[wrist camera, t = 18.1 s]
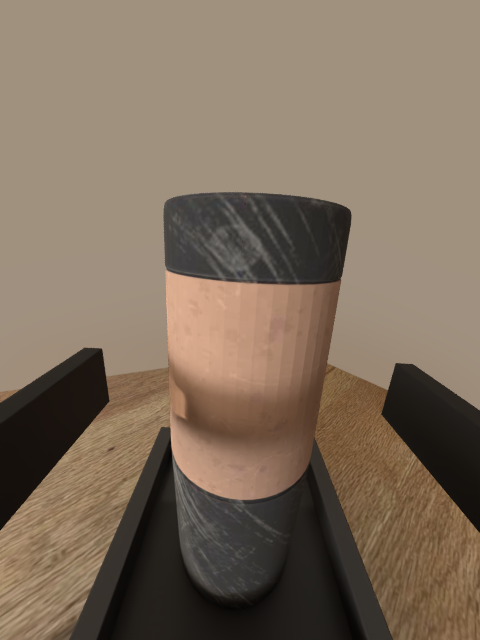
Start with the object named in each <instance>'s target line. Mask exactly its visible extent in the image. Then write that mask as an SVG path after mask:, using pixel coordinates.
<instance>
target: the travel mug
mask: <svg viewBox="0 0 480 640" xmlns="http://www.w3.org/2000/svg"><path fill="white" fill-rule="evenodd" d="M350 226H351V211H350V210H349V209H348V208H347V207H344V206H342V205H340V204H337V203H333V202H329V201H325V200H319V199H314V198H307V197H300V196H291V195H281V194H267V193H242V192H220V193H199V194H190V195H182V196H177V197H173V198H171V199H169V200H167V201H166V202H165V205H164V242H165V266H166V270H165V271H166V302H167V329H168V330H167V332H168V361H169V392H170V422H171V446H172V459H173V470H174V482H175V493H176V504H177V516H178V527H179V539H180V548H181V555H182V560H183V565H184V568H185V571H186V574H187V576H188V578H189V580H190V582H191V583H192V585H193V586H194V588H195V589H196V590H197V591H198V593H199V594H200V595H201V596H202V597H203V598H205V599H206V600H207V601H208V602H210V603H212V604H214V605H216V606H218V607H221V608H224V609H231V610H238V609H245V608H248V607H251V606H253V605H255V604H258V603H259V602H260V601H262V600H263V599H265V598H266V597H267V596H268V595H269V594H270V593H271V592H272V590H273V589H274V588H275V586H276V585H277V583H278V582H279V580H280V578H281V576H282V573H283V571H284V568H285V565H286V561H287V557H288V553H289V549H290V545H291V541H292V536H293V532H294V528H295V523H296V519H297V515H298V510H299V506H300V502H301V497H302V493H303V489H304V484H305V480H306V475H307V471H308V467H309V462H310V457H311V453H312V447H313V441H314V436H315V430H316V424H317V418H318V412H319V407H320V401H321V395H322V389H323V383H324V377H325V372H326V366H327V360H328V354H329V348H330V342H331V336H332V331H333V325H334V319H335V313H336V308H337V301H338V295H339V290H340V284H341V279H340V278H341V277H342V273H343V267H344V261H345V255H346V250H347V244H348V238H349V232H350Z"/></svg>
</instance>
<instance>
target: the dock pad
mask: <svg viewBox="0 0 480 640" xmlns="http://www.w3.org/2000/svg"><path fill="white" fill-rule="evenodd" d="M70 640H393V639H392V636H391V634H390V631H389V628H388V626H387V623H386V621H385V618H384V615H383V613H382V610H381V608H380V605H379V603H378V600H377V597H376V595H375V592H374V590H373V587H372V584H371V582H370V579H369V577H368V574H367V572H366V569H365V566H364V564H363V561H362V559H361V556H360V553H359V551H358V548H357V546H356V543H355V541H354V538H353V535H352V533H351V530H350V528H349V525H348V522H347V520H346V517H345V515H344V512H343V510H342V507H341V504H340V502H339V499H338V497H337V494H336V491H335V489H334V486H333V484H332V481H331V479H330V476H329V473H328V471H327V468H326V466H325V463H324V460H323V458H322V455H321V453H320V450H319V448H318V445H317V442H316V440H315V437H314V441H313V447H312V453H311V457H310V462H309V467H308V471H307V475H306V480H305V484H304V489H303V493H302V497H301V502H300V506H299V510H298V515H297V519H296V523H295V528H294V532H293V536H292V541H291V545H290V549H289V553H288V557H287V561H286V565H285V568H284V571H283V573H282V576H281V578H280V580H279V582H278V583H277V585H276V586H275V588H274V589H273V590H272V592H271V593H270V594H269V595H268V596H267V597H266V598H265V599H263V600H262V601H260V602H259V603H258V604H255V605H253V606H251V607H248V608H245V609H238V610H231V609H224V608H221V607H218V606H216V605H214V604H212V603H210V602H208V601H207V600H206V599H205V598H203V597H202V596H201V595H200V594H199V593H198V591H197V590H196V589H195V588H194V586H193V585H192V583H191V582H190V580H189V578H188V576H187V574H186V571H185V568H184V565H183V560H182V555H181V548H180V539H179V527H178V516H177V504H176V493H175V482H174V470H173V459H172V446H171V428H169V427H161V429H160V432H159V434H158V436H157V438H156V441H155V443H154V445H153V448H152V450H151V452H150V455H149V457H148V459H147V462H146V464H145V466H144V469H143V471H142V473H141V475H140V478H139V480H138V482H137V485H136V487H135V489H134V492H133V494H132V496H131V499H130V501H129V503H128V506H127V508H126V510H125V512H124V515H123V517H122V519H121V522H120V524H119V526H118V529H117V531H116V533H115V536H114V538H113V540H112V543H111V545H110V547H109V550H108V552H107V554H106V556H105V559H104V561H103V563H102V566H101V568H100V570H99V573H98V575H97V577H96V580H95V582H94V584H93V587H92V589H91V591H90V593H89V596H88V598H87V600H86V603H85V605H84V607H83V610H82V612H81V614H80V617H79V619H78V621H77V624H76V626H75V628H74V630H73V633H72V635H71V637H70Z"/></svg>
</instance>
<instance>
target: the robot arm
mask: <svg viewBox="0 0 480 640" xmlns="http://www.w3.org/2000/svg"><path fill="white" fill-rule="evenodd" d="M108 402H109V395H108V388H107V381H106V374H105V367H104V359H103V352H102V349H99V348H83V349H82V350H80V351H79V352H77V353H76V354H75V355H73V356H72V357H70V358H69V359H67V360H65V361H64V362H63V363H61V364H59V365H58V366H56V367H54V368H53V369H51V370H50V371H48V372H47V373H46V374H44V375H42V376H41V377H39V378H38V379H36V380H35V381H33V382H32V383H30V384H29V385H27V386H25V387H24V388H22V389H21V390H19V391H18V392H16V393H15V394H13V395H12V396H10V397H9V398H7V399H6V400H4V401H3V402H1V403H0V530H1V529H2V528H3V527H4V525H5V524H6V523H7V522H8V521H9V519H10V518H11V517H12V516H13V515H14V514H15V512H16V511H17V510H18V509H19V508H20V506H21V505H22V504H23V503H24V502H25V501H26V499H27V498H28V497H29V496H30V495H31V493H32V492H33V491H34V490H35V489H36V488H37V486H38V485H39V484H40V483H41V482H42V480H43V479H44V478H45V477H46V476H47V475H48V473H49V472H50V471H51V470H52V469H53V467H54V466H55V465H56V464H57V463H58V461H59V460H60V459H61V458H62V457H63V456H64V454H65V453H66V452H67V451H68V450H69V448H70V447H71V446H72V445H73V444H74V443H75V441H76V440H77V439H78V438H79V437H80V435H81V434H82V433H83V432H84V431H85V430H86V428H87V427H88V426H89V425H90V424H91V422H92V421H93V420H94V419H95V418H96V416H97V415H98V414H99V413H100V412H101V411H102V409H103V408H104V407H105V406H106V405H107V403H108ZM382 416H383V417H384V418H385V419H386V420H387V422H388V423H389V424H390V425H391V426H392V428H393V429H394V430H395V431H396V432H397V434H398V435H399V436H400V437H401V438H402V440H403V441H404V442H405V443H406V444H407V446H408V447H409V448H410V449H411V450H412V452H413V453H414V454H415V455H416V457H417V458H418V459H419V460H420V461H421V463H422V464H423V465H424V466H425V467H426V469H427V470H428V471H429V472H430V473H431V475H432V476H433V477H434V478H435V479H436V481H437V482H438V483H439V484H440V485H441V487H442V488H443V489H444V490H445V491H446V493H447V494H448V495H449V496H450V497H451V499H452V500H453V501H454V502H455V503H456V505H457V506H458V507H459V508H460V510H461V511H462V512H463V513H464V514H465V516H466V517H467V518H468V519H469V520H470V522H471V523H472V524H473V525H474V526H475V528H476V529H477V530H478V531H479V532H480V410H478V409H477V408H475V407H474V406H472V405H471V404H470V403H468V402H467V401H465V400H464V399H462V398H461V397H459V396H458V395H457V394H455V393H454V392H452V391H451V390H449V389H448V388H446V387H445V386H444V385H442V384H441V383H439V382H438V381H436V380H435V379H433V378H432V377H431V376H429V375H428V374H426V373H425V372H423V371H422V370H420V369H419V368H418V367H416V366H415V365H413V364H399V363H396V364H395V368H394V372H393V375H392V379H391V382H390V386H389V389H388V393H387V396H386V400H385V403H384V407H383V410H382Z"/></svg>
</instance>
